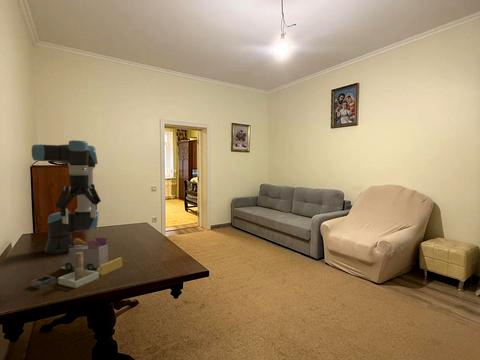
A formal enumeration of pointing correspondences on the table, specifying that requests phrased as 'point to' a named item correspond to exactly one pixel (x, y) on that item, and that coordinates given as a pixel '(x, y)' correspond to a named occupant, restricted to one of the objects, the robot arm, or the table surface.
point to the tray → (70, 280)
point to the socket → (43, 282)
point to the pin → (78, 266)
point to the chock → (110, 266)
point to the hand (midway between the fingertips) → (80, 220)
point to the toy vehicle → (88, 253)
